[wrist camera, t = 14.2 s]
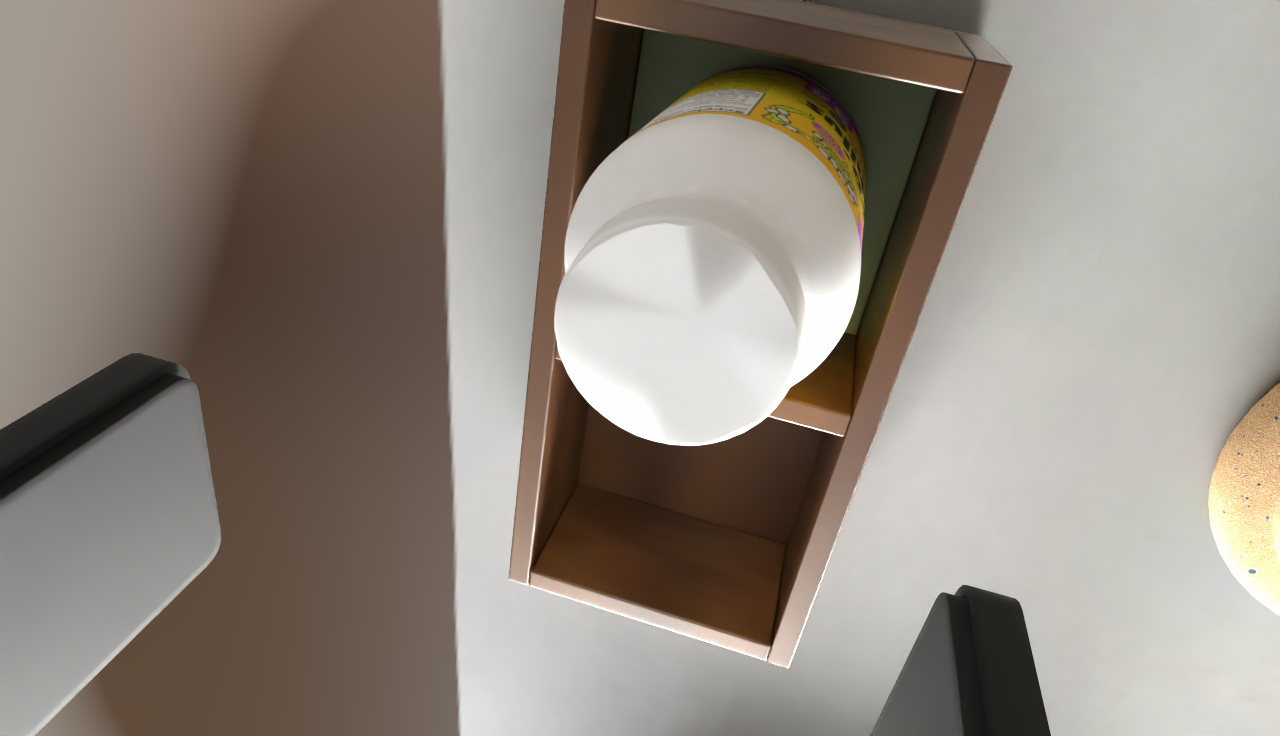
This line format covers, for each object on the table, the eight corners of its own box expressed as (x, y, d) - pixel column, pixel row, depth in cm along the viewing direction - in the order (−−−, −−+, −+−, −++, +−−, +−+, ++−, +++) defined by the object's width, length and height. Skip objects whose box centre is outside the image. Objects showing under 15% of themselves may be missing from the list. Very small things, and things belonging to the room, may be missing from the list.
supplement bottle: (878, 253, 26) (878, 486, 15) (681, 279, 28) (558, 499, 17) (853, 35, 23) (830, 128, 12) (637, 83, 25) (457, 197, 15)
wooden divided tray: (562, 483, 35) (507, 580, 30) (631, -33, 25) (566, -23, 19) (802, 554, 33) (788, 668, 28) (983, 35, 23) (1013, 66, 18)
